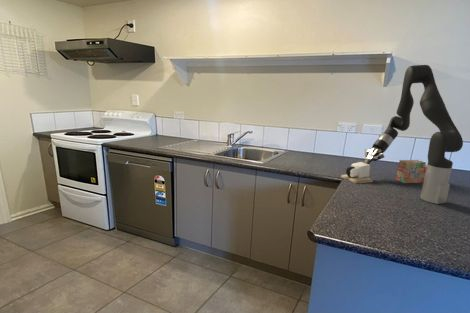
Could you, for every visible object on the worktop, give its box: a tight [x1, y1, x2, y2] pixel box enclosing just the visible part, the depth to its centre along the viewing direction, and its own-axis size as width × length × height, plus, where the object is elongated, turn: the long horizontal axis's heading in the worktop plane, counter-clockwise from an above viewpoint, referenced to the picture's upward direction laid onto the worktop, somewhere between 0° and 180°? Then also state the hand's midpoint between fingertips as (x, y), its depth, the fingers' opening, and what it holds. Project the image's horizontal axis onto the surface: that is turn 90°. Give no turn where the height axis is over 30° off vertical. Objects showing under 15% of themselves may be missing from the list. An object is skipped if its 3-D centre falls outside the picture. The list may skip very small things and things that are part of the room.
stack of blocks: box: [395, 159, 427, 184], centre depth 159 cm, size 21×6×12 cm, turn 101°
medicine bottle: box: [345, 161, 371, 178], centre depth 158 cm, size 7×7×12 cm
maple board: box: [340, 174, 374, 184], centre depth 158 cm, size 12×12×1 cm
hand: (365, 164), depth 160 cm, fingers closed
